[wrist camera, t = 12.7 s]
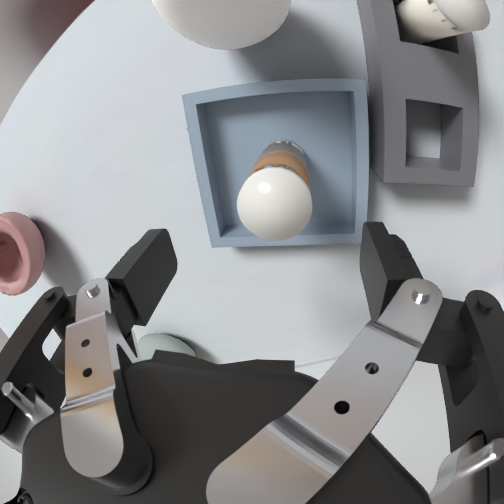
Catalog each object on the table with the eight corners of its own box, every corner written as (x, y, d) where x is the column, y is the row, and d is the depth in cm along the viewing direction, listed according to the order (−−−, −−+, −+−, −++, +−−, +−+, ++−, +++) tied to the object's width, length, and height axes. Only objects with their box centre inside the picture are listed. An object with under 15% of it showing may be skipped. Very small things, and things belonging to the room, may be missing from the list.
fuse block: (352, -18, 13) (361, -34, 10) (442, 0, 12) (462, -9, 8) (371, 168, 23) (383, 182, 19) (453, 172, 21) (473, 187, 18)
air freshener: (145, 318, 38) (116, 370, 30) (198, 333, 38) (176, 391, 30) (152, 358, 45) (131, 403, 36) (196, 371, 44) (180, 420, 36)
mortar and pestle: (67, 234, 32) (14, 283, 23) (52, 276, 38) (13, 321, 29) (19, 183, 29) (-36, 219, 19) (11, 232, 35) (-31, 268, 25)
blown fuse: (257, 141, 22) (231, 174, 14) (305, 138, 22) (310, 169, 13) (262, 184, 24) (242, 241, 16) (307, 182, 24) (313, 239, 15)
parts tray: (194, 94, 21) (182, 95, 19) (357, 80, 19) (365, 79, 16) (219, 232, 29) (212, 247, 26) (358, 227, 26) (364, 243, 23)
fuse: (383, 3, 14) (428, -35, 5) (423, 11, 13) (481, -15, 5) (390, 41, 16) (443, 19, 8) (430, 48, 15) (494, 38, 7)
